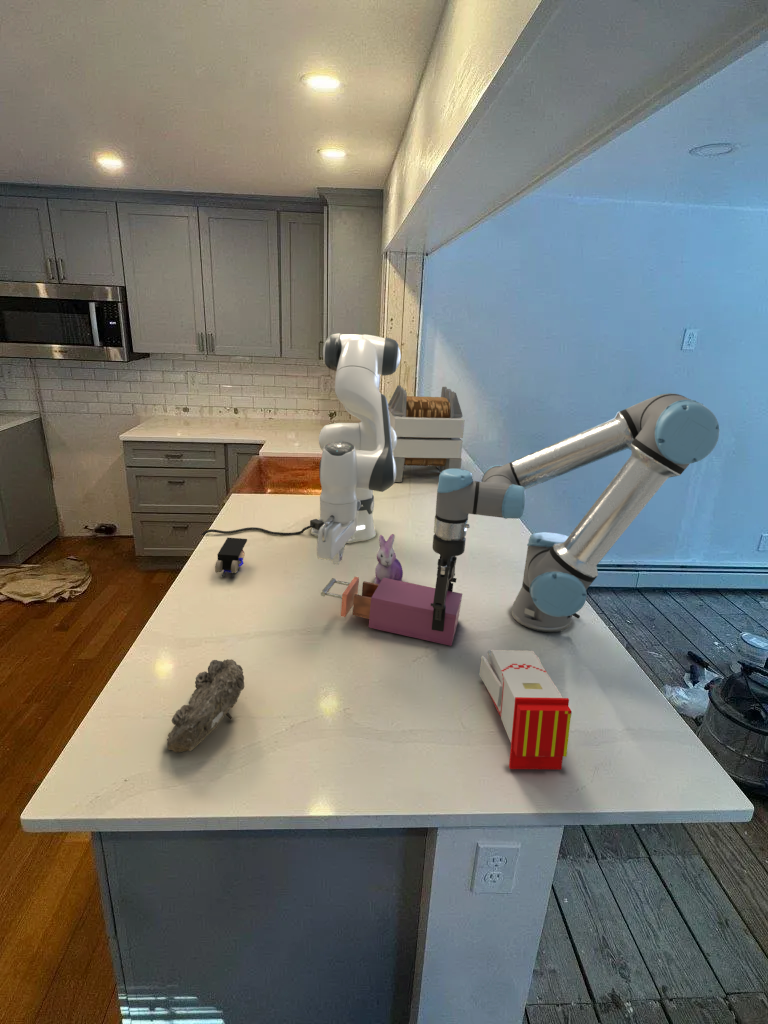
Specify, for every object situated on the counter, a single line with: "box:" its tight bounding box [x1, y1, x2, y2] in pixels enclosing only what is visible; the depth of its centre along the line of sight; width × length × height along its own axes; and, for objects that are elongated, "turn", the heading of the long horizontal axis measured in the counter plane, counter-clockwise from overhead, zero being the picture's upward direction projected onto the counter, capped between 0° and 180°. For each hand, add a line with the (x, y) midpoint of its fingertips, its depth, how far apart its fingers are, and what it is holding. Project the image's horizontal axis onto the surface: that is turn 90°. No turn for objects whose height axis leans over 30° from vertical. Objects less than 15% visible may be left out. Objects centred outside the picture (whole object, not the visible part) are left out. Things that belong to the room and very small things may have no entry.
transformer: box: [388, 384, 465, 483], centre depth 268 cm, size 34×33×41 cm
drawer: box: [320, 576, 379, 620], centre depth 143 cm, size 25×10×6 cm, turn 75°
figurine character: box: [214, 537, 248, 578], centre depth 166 cm, size 7×8×15 cm
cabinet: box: [368, 578, 463, 647], centre depth 140 cm, size 21×11×8 cm, turn 75°
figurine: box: [373, 533, 404, 584], centre depth 160 cm, size 9×10×15 cm
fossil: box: [166, 658, 245, 754], centre depth 106 cm, size 22×10×15 cm
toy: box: [479, 649, 572, 771], centre depth 110 cm, size 12×13×30 cm
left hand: (337, 562), depth 142 cm, fingers closed
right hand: (441, 617), depth 139 cm, fingers closed on cabinet, 11 cm apart
